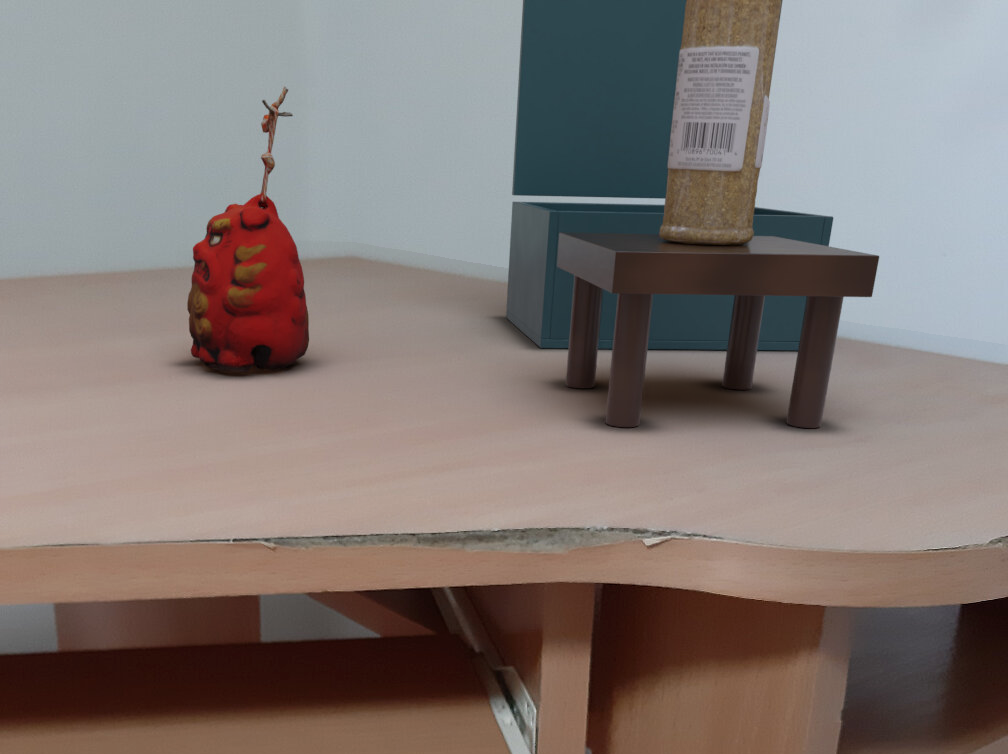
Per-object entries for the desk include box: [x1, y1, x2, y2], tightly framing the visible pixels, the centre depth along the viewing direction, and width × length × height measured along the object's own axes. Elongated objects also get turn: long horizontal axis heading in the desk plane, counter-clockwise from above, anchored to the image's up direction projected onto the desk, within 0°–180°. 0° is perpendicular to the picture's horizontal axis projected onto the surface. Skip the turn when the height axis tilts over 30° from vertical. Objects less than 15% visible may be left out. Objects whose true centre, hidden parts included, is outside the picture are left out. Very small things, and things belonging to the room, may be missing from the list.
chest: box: [505, 201, 834, 352], centre depth 76 cm, size 14×19×9 cm
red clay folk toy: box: [186, 86, 310, 373], centre depth 60 cm, size 8×7×15 cm
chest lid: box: [511, 0, 784, 200], centre depth 78 cm, size 15×19×1 cm
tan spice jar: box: [659, 0, 782, 245], centre depth 50 cm, size 5×5×13 cm
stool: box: [557, 232, 880, 429], centre depth 54 cm, size 12×12×8 cm
